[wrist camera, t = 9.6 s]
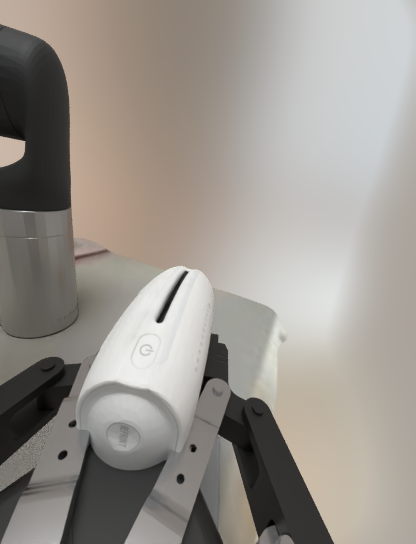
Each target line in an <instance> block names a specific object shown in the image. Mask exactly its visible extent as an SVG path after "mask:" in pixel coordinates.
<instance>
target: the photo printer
mask: <svg viewBox="0 0 416 544" xmlns="http://www.w3.org/2000/svg"><path fill="white" fill-rule="evenodd" d="M213 312H214V295H213V290H212V287H211V285H210V283H209V281H208V279H207V278H206V276H205V275H204V274H203V273H202V272H201V271H199V270H190V269H187V268H185V267H184V266H177V267H174V268H171V269H168V270H166V271H164V272H163V273H161V274H159V275H158V276H157V277H155V278H154V279H153V280H152V281H151V282H150V283H148V284H147V285H146V286H145V287H144V288H143V289H142V290H141V291H140V293H139V294H138V295H137V297H136V298H135V299H134V300H133V302H132V303H131V304H130V305H129V307H128V308H127V309H126V310H125V312H124V313H123V314H122V316H121V317H120V319H119V320H118V321H117V323H116V324H115V326H114V327H113V329H112V330H111V332H110V333H109V335H108V336H107V338H106V340H105V341H104V343H103V344H102V346H101V348H100V350H99V352H98V354H97V356H96V358H95V360H94V362H93V364H92V366H91V368H90V370H89V372H88V375H87V377H86V379H85V382H84V384H83V387H82V389H81V392H80V395H79V398H78V401H77V405H76V423H77V429H79V430H88V431H89V432H90V444H91V446H92V448H93V450H94V452H95V453H96V455H97V456H98V457H99V458H100V459H101V460H103V461H104V462H105V463H106V464H108V465H110V466H112V467H114V468H117V469H122V470H142V469H146V468H149V467H152V466H154V465H156V464H159V463H161V462H162V461H164V460H167V459H168V457H169V455H170V453H171V451H172V450H174V451H176V452H178V453H180V452H181V451H182V448H183V446H184V444H185V441H186V439H187V437H188V434H189V431H190V428H191V426H192V422H193V419H194V415H195V411H196V407H197V403H198V398H199V394H200V390H201V385H202V380H203V375H204V370H205V365H206V360H207V355H208V349H209V343H210V336H211V329H212V322H213Z"/></svg>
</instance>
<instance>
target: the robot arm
mask: <svg viewBox="0 0 416 544" xmlns="http://www.w3.org/2000/svg"><path fill="white" fill-rule="evenodd" d="M69 128H70V114H69V96H68V87H67V81H66V77H65V73H64V70H63V67H62V64H61V62H60V60H59V58H58V56H57V54H56V53H55V51H54V50H53V49H52V47H51V46H50V45H49V44H47V43H46V42H45V41H44V40H42V39H40V38H38V37H35V36H33V35H30V34H28V33H25V32H21V31H18V30H15V29H13V28H9V27H7V26H4V25H1V24H0V136H3V137H8V138H12V139H17V140H23V141H25V153H24V156H23V157H22V159H20V160H19V161H17V162H15V163H13V164H11V165H8V166H5V167H1V168H0V325H2V327H3V329H4V331H5V332H6V333H8V334H10V335H12V336H16V337H23V338H32V337H41V336H46V335H49V334H53V333H56V332H58V331H61V330H63V329H64V328H66V327H68V326H69V325H71V324H72V323H73V322H74V321H75V320H76V318H77V316H78V303H77V286H76V271H75V256H74V240H73V226H72V211H71V193H70V192H71V189H70V188H71V176H70V148H69V146H70V145H69V141H70V139H69V138H70V129H69ZM98 352H99V351H98ZM97 354H98V353H97ZM97 354H96V355H93V356H90V357H88V358H87V359H85V360H84V361H83V362H82V363H80V364H68V365H64V361H63V359H61V358H59V357H49V358H45V359H43V360H40V361H39V362H37V363H35V364H34V365H32V366H31V367H29V368H28V369H26V370H24V371H23V372H21V373H20V374H18V375H17V376H15V377H13V378H12V379H10V380H9V381H7V382H5V383H4V384H2V385H1V386H0V465H1V464H2V463H4V462H5V461H6V460H7V459H8V458H9V457H10V456H11V455H12V454H14V453H15V452H16V451H17V450H18V449H19V448H20V447H21V446H22V445H24V444H25V443H26V442H27V441H28V440H29V439H30V438H31V437H32V436H33V435H35V434H36V433H37V432H38V431H39V430H40V429H41V428H42V427H43V426H45V425H46V424H47V423H48V422H49V421H50V420H51V419H52V418H53V417H55V416H56V415H57V416H56V418H55V421H54V423H53V426H52V428H51V431H50V433H49V435H48V438H47V440H46V443H45V445H44V448H43V450H42V453H41V455H40V458H39V460H38V463H37V465H36V467H35V468H34V469H32V470H31V471H29V472H28V473H26V474H25V475H24V476H22V477H21V478H19V479H18V480H16V481H15V482H14V483H12V484H11V485H9V486H8V487H6V488H5V489H4V490H2V491H1V492H0V544H223V542H222V539H221V537H220V535H219V532H218V530H217V527H216V525H215V523H214V520H213V518H212V515H211V513H210V511H209V508H208V506H207V503H206V501H205V499H204V496H203V494H202V492H201V489H200V486H201V483H202V480H203V477H204V474H205V471H206V468H207V465H208V462H209V459H210V456H211V453H212V450H213V447H214V444H215V441H216V438H217V435H218V434H219V435H220V436H222V437H223V438H225V439H227V440H228V441H230V442H232V445H233V448H234V452H235V456H236V459H237V463H238V466H239V470H240V473H241V477H242V481H243V484H244V488H245V491H246V495H247V498H248V502H249V506H250V509H251V513H252V516H253V520H254V523H255V527H256V531H257V534H258V538H259V539H258V541H257V542H256V544H334V543H333V541H332V539H331V536H330V534H329V532H328V530H327V528H326V526H325V524H324V522H323V520H322V518H321V516H320V513H319V511H318V509H317V507H316V505H315V503H314V501H313V499H312V497H311V495H310V493H309V491H308V488H307V486H306V484H305V482H304V480H303V478H302V476H301V474H300V472H299V470H298V467H297V465H296V463H295V461H294V459H293V457H292V455H291V453H290V451H289V449H288V446H287V444H286V443H285V440H284V438H283V436H282V434H281V432H280V430H279V428H278V425H277V424H276V421H275V419H274V417H273V415H272V413H271V411H270V409H269V407H268V406H267V404H266V403H265V402H264V401H262V400H260V399H258V398H249V399H247V400H244V399H242V398H240V397H238V396H237V395H235V394H234V393H233V392H232V391H231V389H230V387H229V384H228V350H227V348H226V346H225V344H222V343H218V335H217V334H212V333H211V336H210V343H209V349H208V355H207V360H206V365H205V370H204V375H203V380H202V385H201V390H200V394H199V398H198V403H197V407H196V411H195V415H194V419H193V422H192V426H191V428H190V431H189V434H188V437H187V439H186V441H185V444H184V446H183V448H182V451H181V452H180V453H178V452H176V451H174V450H172V451H171V453H170V455H169V457H168V459H167V460H164V461H162V462H161V463H159V464H156V465H154V466H152V467H149V468H146V469H142V470H122V469H117V468H114V467H112V466H110V465H108V464H106V463H105V462H104V461H103V460H101V459H100V458H99V457H98V456H97V455H96V453H95V452H94V450H93V448H92V446H91V444H90V432H89V431H88V430H79V429H77V423H76V405H77V401H78V398H79V395H80V392H81V389H82V387H83V384H84V382H85V379H86V377H87V375H88V372H89V370H90V368H91V366H92V364H93V362H94V360H95V358H96V356H97Z"/></svg>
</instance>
